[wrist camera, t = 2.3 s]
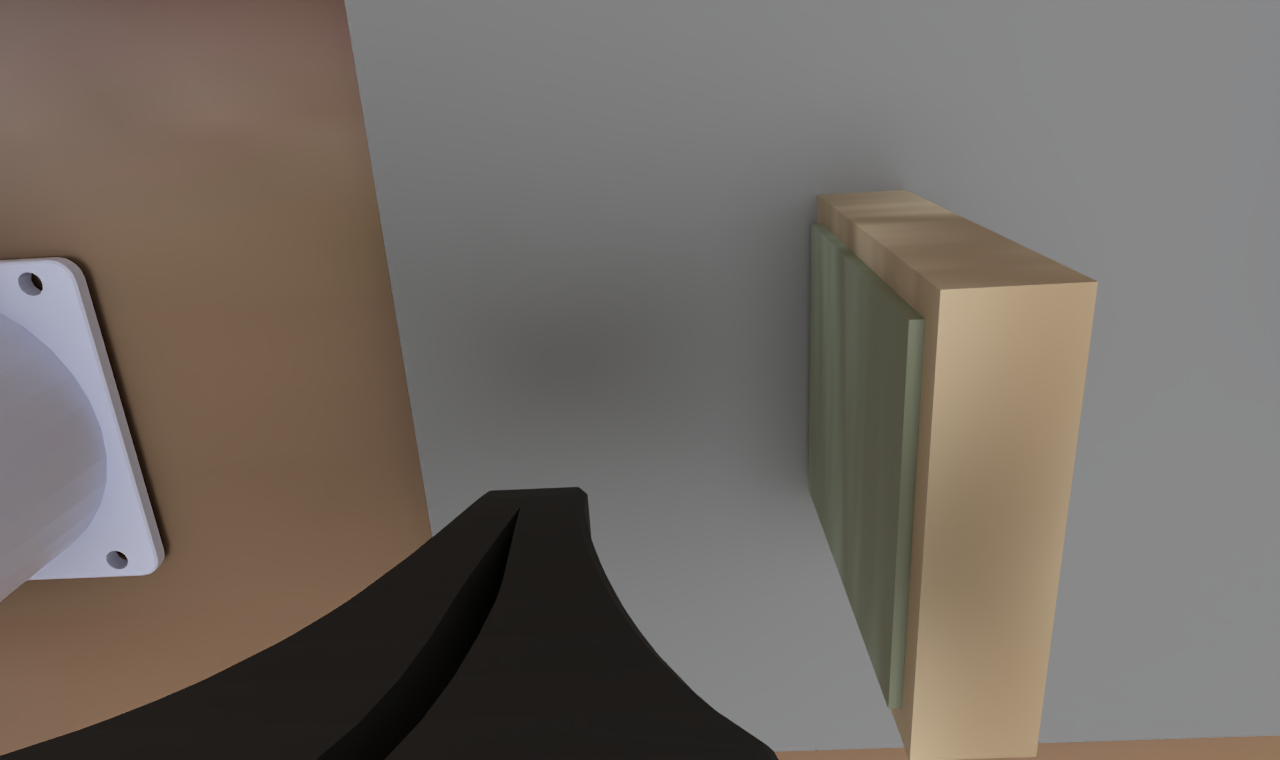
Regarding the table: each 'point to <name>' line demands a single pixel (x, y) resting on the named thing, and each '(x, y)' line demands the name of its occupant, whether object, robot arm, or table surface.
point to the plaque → (945, 458)
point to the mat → (781, 299)
